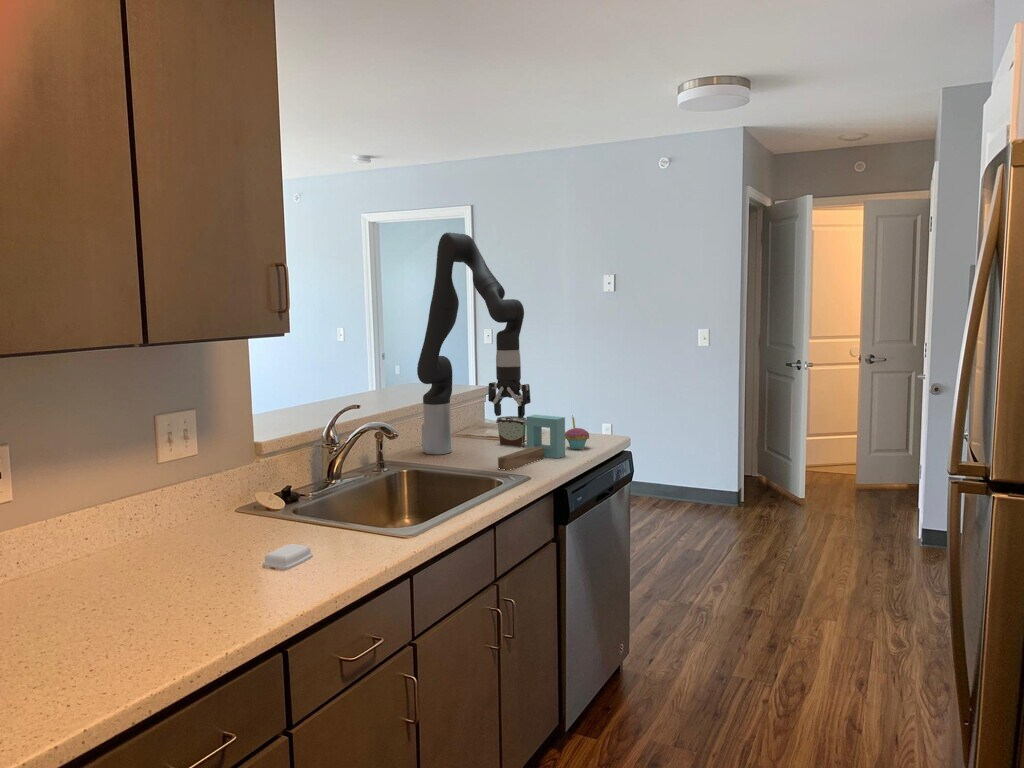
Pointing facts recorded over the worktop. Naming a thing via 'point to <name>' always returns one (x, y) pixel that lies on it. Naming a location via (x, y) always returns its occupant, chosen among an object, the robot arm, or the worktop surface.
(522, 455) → the brown rectangular block
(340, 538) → the worktop surface
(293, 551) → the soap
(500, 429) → the food container
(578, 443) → the cupcake
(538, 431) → the light blue hollow block
